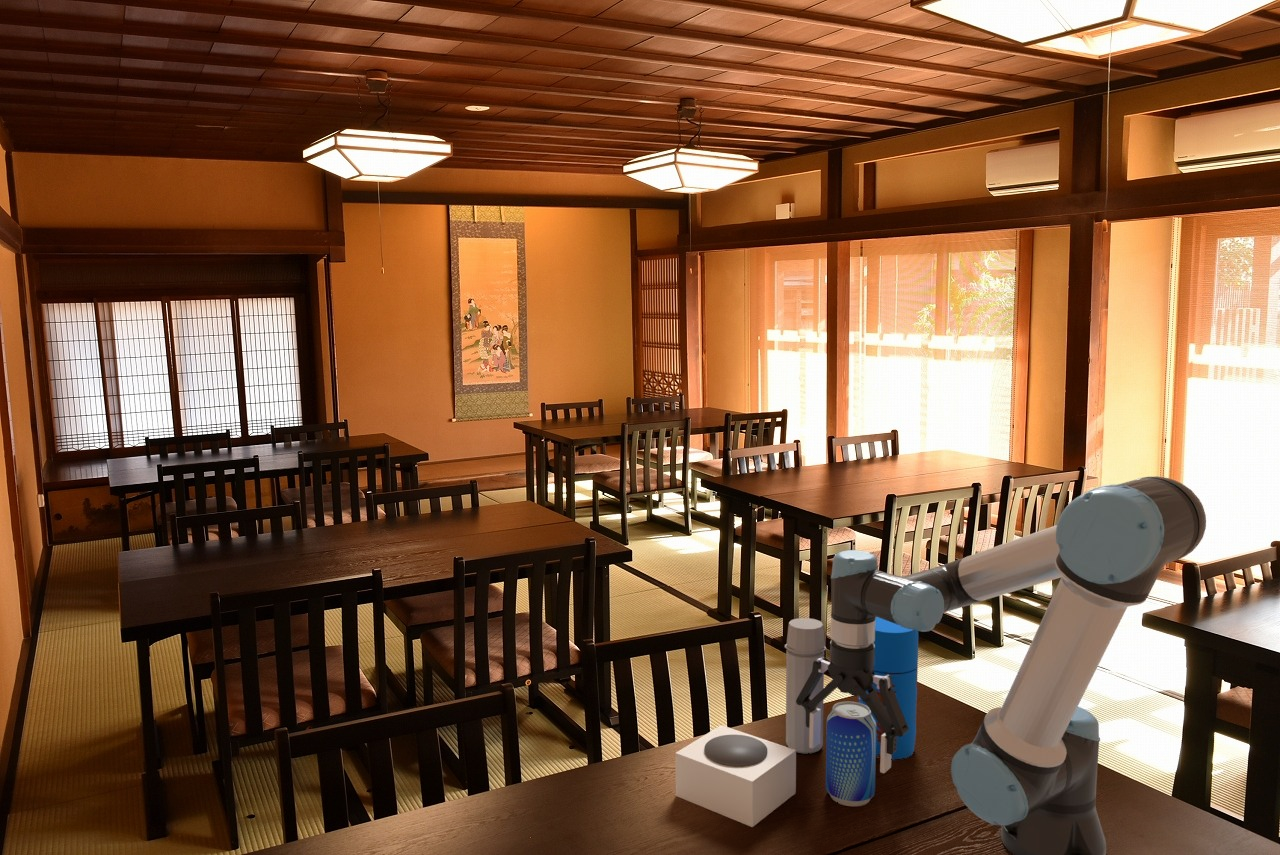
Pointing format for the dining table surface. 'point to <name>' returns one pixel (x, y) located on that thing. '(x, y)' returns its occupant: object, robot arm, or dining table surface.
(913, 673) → the thermos
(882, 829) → the dining table surface
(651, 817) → the dining table surface
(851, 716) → the beer can
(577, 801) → the dining table surface
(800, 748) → the water bottle
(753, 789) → the white block with disc
